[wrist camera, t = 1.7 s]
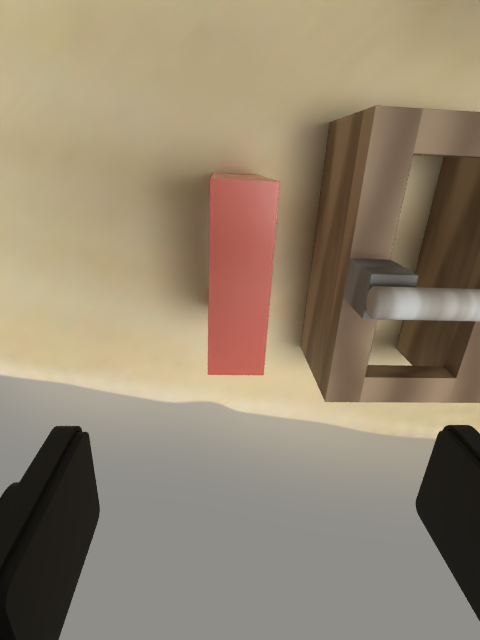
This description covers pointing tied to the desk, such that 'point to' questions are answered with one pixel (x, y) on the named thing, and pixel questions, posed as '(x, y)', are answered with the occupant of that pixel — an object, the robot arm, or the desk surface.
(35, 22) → the desk surface
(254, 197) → the red arch block
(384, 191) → the tan hollow frame
